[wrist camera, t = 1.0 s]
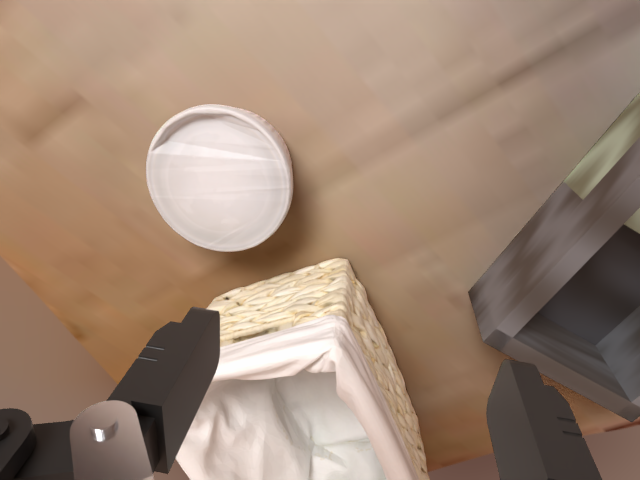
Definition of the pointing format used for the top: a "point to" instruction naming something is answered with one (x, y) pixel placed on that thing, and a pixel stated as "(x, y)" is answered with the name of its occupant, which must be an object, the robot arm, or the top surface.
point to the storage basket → (304, 387)
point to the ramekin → (220, 177)
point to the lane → (577, 278)
